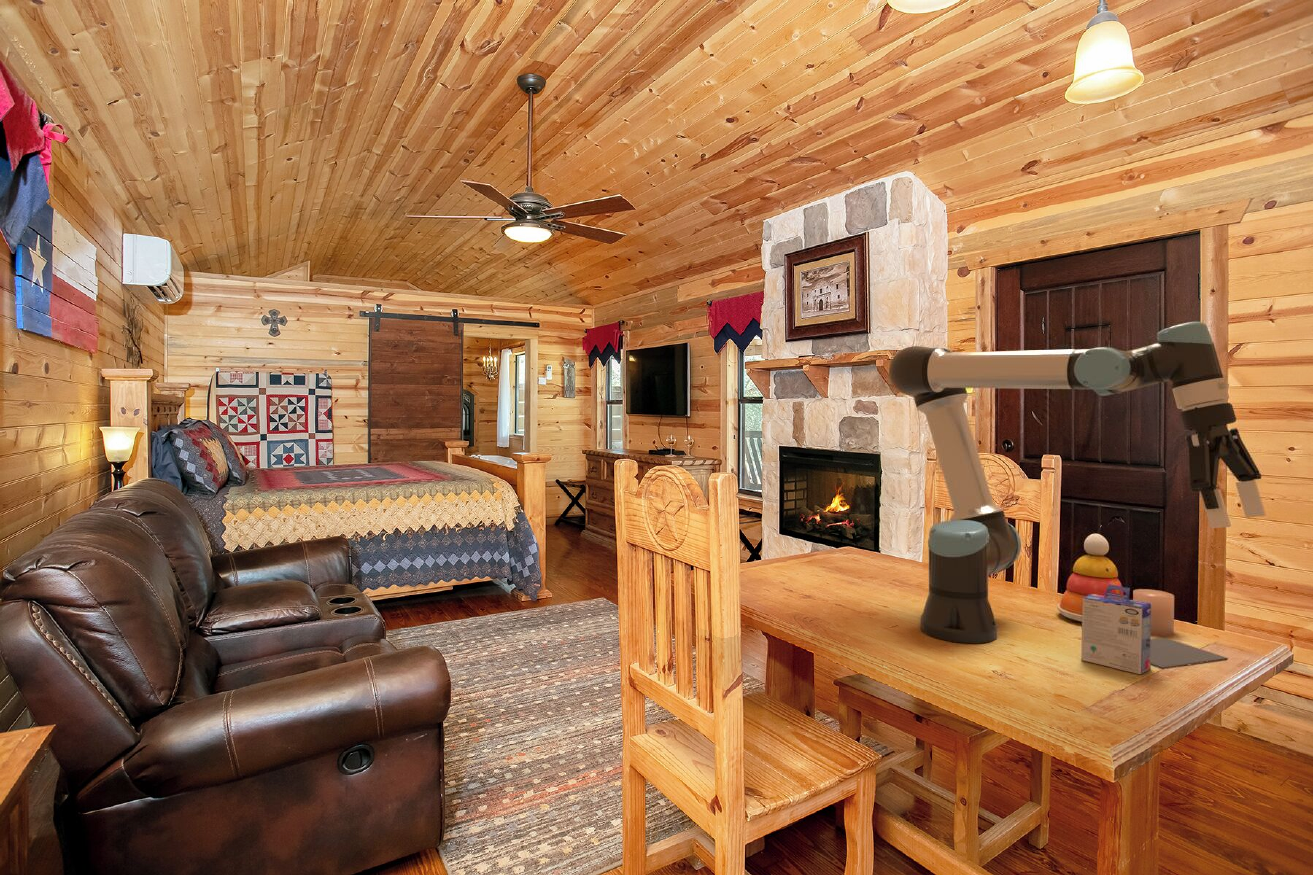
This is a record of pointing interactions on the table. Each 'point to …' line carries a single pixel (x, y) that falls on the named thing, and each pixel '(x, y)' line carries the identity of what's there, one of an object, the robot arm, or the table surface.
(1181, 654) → the mat
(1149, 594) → the pink pillar candle
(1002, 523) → the robot arm
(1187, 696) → the table surface
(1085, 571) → the stacking toy
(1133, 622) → the ink cartridge box
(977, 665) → the table surface
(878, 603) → the table surface
